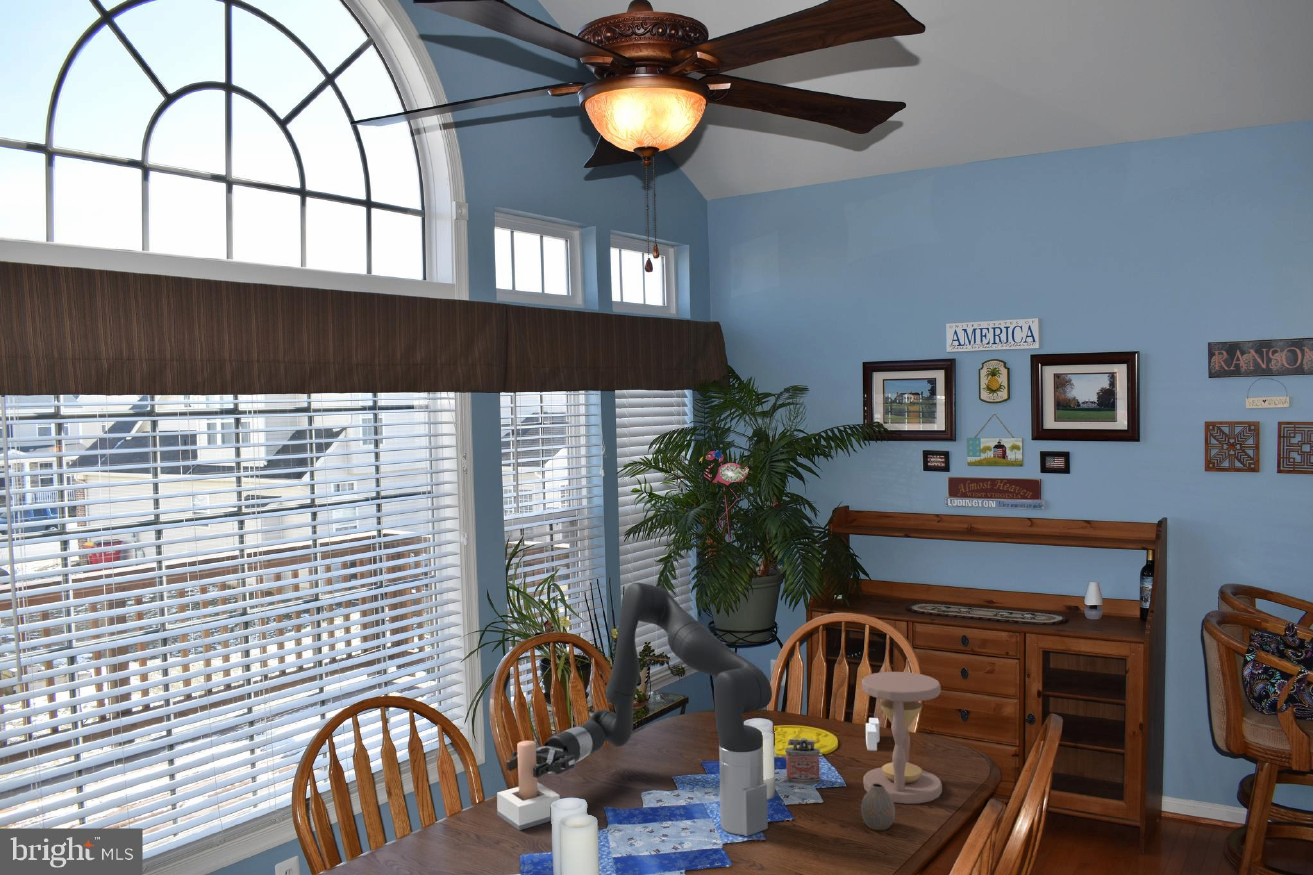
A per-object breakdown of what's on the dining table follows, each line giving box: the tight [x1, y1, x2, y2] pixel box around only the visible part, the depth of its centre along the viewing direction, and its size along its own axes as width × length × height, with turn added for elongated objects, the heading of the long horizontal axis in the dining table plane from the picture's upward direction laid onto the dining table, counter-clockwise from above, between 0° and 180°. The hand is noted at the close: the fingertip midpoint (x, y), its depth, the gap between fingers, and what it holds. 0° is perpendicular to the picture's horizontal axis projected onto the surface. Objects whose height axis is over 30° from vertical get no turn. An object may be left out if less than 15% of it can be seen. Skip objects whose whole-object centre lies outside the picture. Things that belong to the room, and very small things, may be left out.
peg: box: [516, 740, 538, 801], centre depth 209 cm, size 4×4×15 cm
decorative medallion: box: [773, 724, 839, 758], centre depth 254 cm, size 24×24×2 cm
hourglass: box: [861, 671, 943, 805], centre depth 221 cm, size 18×18×25 cm
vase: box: [860, 783, 896, 831], centre depth 201 cm, size 7×7×9 cm
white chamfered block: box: [865, 717, 880, 752], centre depth 253 cm, size 15×11×6 cm
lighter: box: [785, 738, 821, 785], centre depth 227 cm, size 8×3×10 cm, turn 84°
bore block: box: [496, 781, 561, 831], centre depth 209 cm, size 10×10×5 cm
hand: (520, 769), depth 207 cm, fingers open, 7 cm apart
